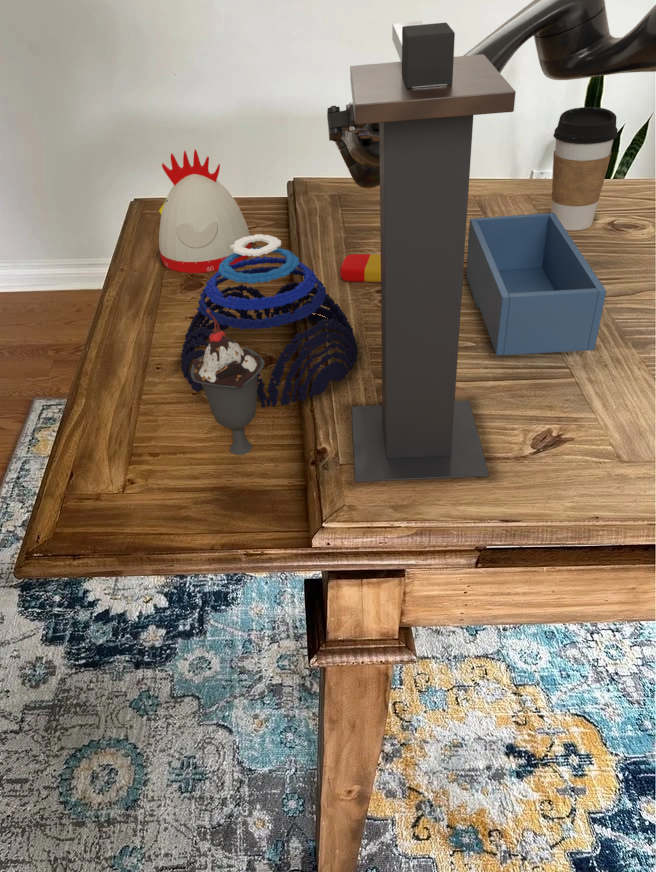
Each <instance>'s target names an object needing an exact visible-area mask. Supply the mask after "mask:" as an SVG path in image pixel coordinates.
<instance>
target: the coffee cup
mask: <svg viewBox="0 0 656 872" xmlns="http://www.w3.org/2000/svg"><path fill="white" fill-rule="evenodd" d="M618 131H619V129H618V128H617V115H616V114H615V113H614V112H613V111H611V110H610V109H607V108H604V107H595V106H582V107H574V108H570V109H568V110H565V111H564V112H562V113H561V115H559V119H558V124H557V126H556V128H555V129H554V133H553V135H552V136H553V138H554V139H555V149H554V150H553V159H552V181H551V182H552V183H551V184H552V185H551V209H550V213H555V215H556V216H557V218H558V219H559V221H560V222H561V224H562V225H563V227H564V228H565V230H566V231H571V232H572V231H574V232H575V231H583V230H586V229H589V228H590V227H592V225H593V222H594V219H595V214H596V210H597V207H598V203H599V200H600V197H601V193H602V189H603V186H604V182H605V179H606V174H607V171H608V167H609V164H610V161H611V156H612V147H613V144H614V140H615V139H616V138H618Z"/></svg>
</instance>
